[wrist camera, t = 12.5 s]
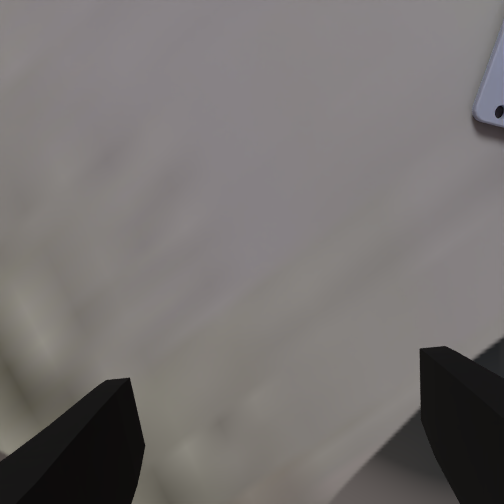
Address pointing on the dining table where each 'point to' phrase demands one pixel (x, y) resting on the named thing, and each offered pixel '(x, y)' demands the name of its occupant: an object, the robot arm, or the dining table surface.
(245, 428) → the dining table surface
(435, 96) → the dining table surface
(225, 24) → the dining table surface
